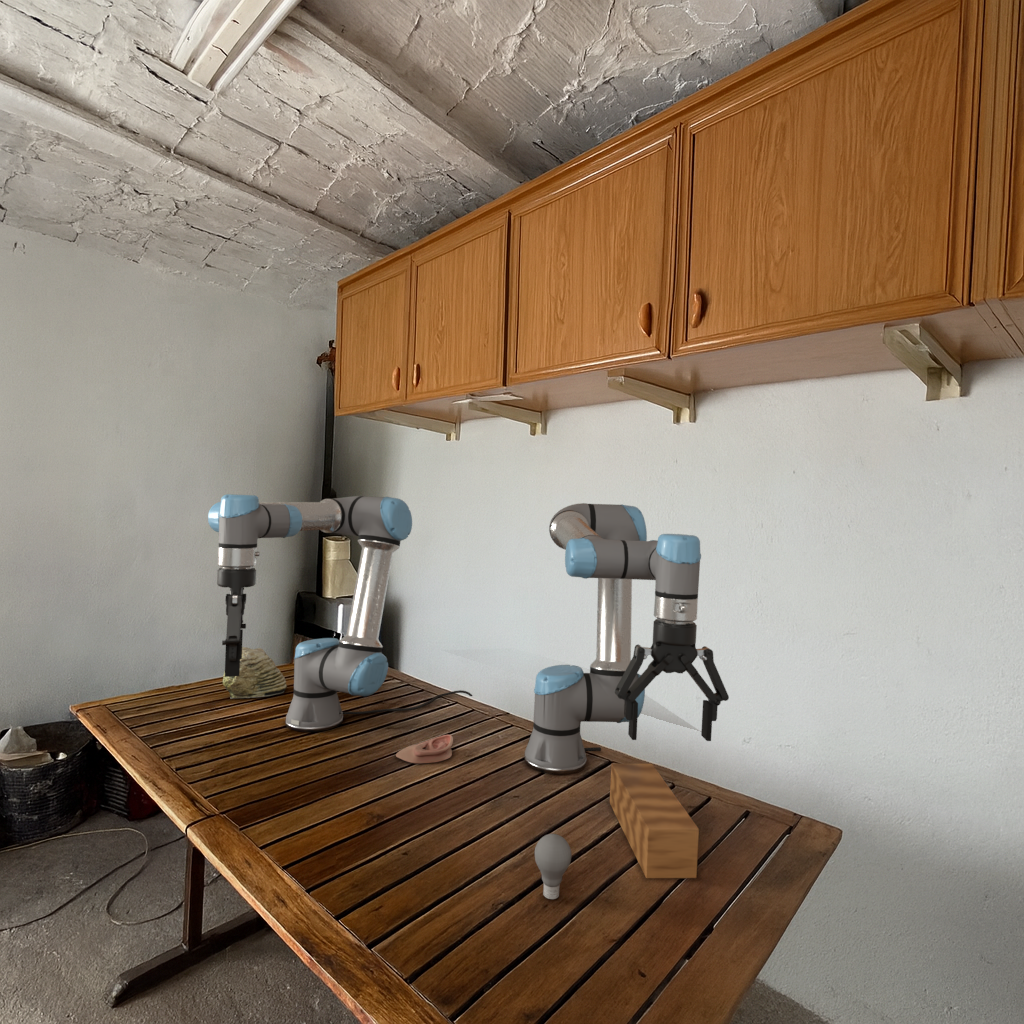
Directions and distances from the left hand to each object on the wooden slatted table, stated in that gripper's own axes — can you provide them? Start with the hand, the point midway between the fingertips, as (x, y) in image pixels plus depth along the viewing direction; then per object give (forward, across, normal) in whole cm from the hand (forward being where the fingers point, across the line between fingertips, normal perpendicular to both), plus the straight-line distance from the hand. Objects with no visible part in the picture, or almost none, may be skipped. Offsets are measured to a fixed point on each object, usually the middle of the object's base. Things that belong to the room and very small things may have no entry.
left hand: (233, 667), depth 134 cm
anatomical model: (+26, +7, -44) cm, 52 cm away
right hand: (+4, -51, -74) cm, 90 cm away
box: (+26, -42, -77) cm, 92 cm away
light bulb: (+26, -54, -50) cm, 78 cm away
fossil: (+26, +66, -4) cm, 72 cm away
